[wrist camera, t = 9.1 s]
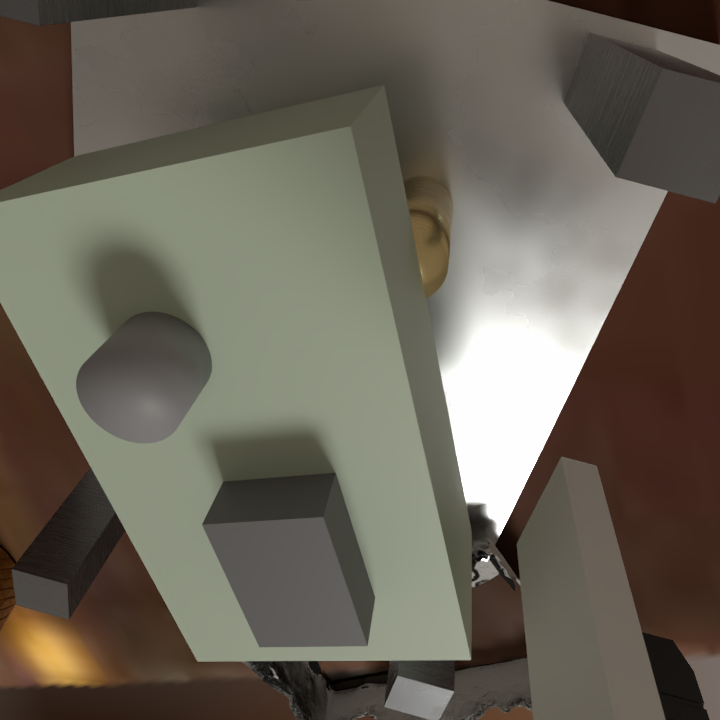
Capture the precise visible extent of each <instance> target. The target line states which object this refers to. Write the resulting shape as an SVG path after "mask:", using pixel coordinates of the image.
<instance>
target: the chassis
mask: <svg viewBox="0 0 720 720" xmlns="http://www.w3.org/2000/svg"><path fill="white" fill-rule="evenodd" d="M0 16H4V17H8V18H12V19H16V20H19V21H23V22H27V23H31V24H35V25H38V26H42V25H50V24H59V23H67V22H71V47H72V85H73V123H74V157H75V156H77V155H81V154H86V153H90V152H95V151H99V150H103V149H108V148H112V147H116V146H121V145H125V144H129V143H134V142H138V141H142V140H147V139H151V138H155V137H160V136H164V135H168V134H173V133H177V132H181V131H186V130H190V129H195V128H199V127H203V126H208V125H212V124H216V123H221V122H225V121H229V120H234V119H238V118H242V117H247V116H251V115H255V114H260V113H264V112H268V111H273V110H277V109H281V108H286V107H290V106H295V105H299V104H303V103H308V102H312V101H316V100H321V99H325V98H329V97H334V96H338V95H342V94H347V93H351V92H355V91H360V90H364V89H368V88H373V87H377V86H381V85H384V86H385V91H386V96H387V102H388V107H389V112H390V117H391V122H392V127H393V132H394V137H395V142H396V148H397V153H398V158H399V163H400V168H401V173H402V178H403V183H404V188H405V193H406V199H407V204H408V209H409V214H410V219H411V224H412V229H413V234H414V239H415V245H416V250H417V255H418V260H419V265H420V270H421V275H422V280H423V285H424V290H425V296H426V301H427V306H428V311H429V316H430V321H431V326H432V331H433V336H434V342H435V347H436V352H437V357H438V362H439V367H440V372H441V377H442V382H443V388H444V393H445V398H446V403H447V408H448V413H449V418H450V423H451V428H452V433H453V439H454V444H455V449H456V454H457V459H458V464H459V469H460V474H461V479H462V485H463V490H464V495H465V500H466V505H467V510H468V515H469V520H470V525H471V530H472V541H474V540H477V539H480V538H484V537H486V538H489V539H490V540H491V541H492V542H493V544H494V545H495V544H496V542H497V540H498V538H499V536H500V534H501V532H502V530H503V528H504V526H505V524H506V522H507V520H508V518H509V516H510V514H511V512H512V509H513V507H514V505H515V503H516V501H517V499H518V497H519V495H520V493H521V491H522V489H523V487H524V485H525V483H526V481H527V479H528V477H529V475H530V473H531V471H532V468H533V466H534V464H535V462H536V460H537V458H538V456H539V454H540V452H541V450H542V448H543V446H544V444H545V442H546V440H547V438H548V436H549V434H550V432H551V430H552V427H553V425H554V423H555V421H556V419H557V417H558V415H559V413H560V411H561V409H562V407H563V405H564V403H565V401H566V399H567V397H568V395H569V393H570V391H571V389H572V386H573V384H574V382H575V380H576V378H577V376H578V374H579V372H580V370H581V368H582V366H583V364H584V362H585V360H586V358H587V356H588V354H589V352H590V350H591V348H592V345H593V343H594V341H595V339H596V337H597V335H598V333H599V331H600V329H601V327H602V325H603V323H604V321H605V319H606V317H607V315H608V313H609V311H610V309H611V307H612V304H613V302H614V300H615V298H616V296H617V294H618V292H619V290H620V288H621V286H622V284H623V282H624V280H625V278H626V276H627V274H628V272H629V270H630V268H631V266H632V263H633V261H634V259H635V257H636V255H637V253H638V251H639V249H640V247H641V245H642V243H643V241H644V239H645V237H646V235H647V233H648V231H649V229H650V227H651V225H652V222H653V220H654V218H655V216H656V214H657V212H658V210H659V208H660V206H661V204H662V202H663V200H664V198H665V196H666V194H667V192H668V191H670V192H674V193H678V194H681V195H685V196H689V197H693V198H697V199H700V200H704V201H708V202H712V203H716V201H717V199H718V197H719V195H720V45H719V44H716V43H712V42H708V41H704V40H700V39H696V38H692V37H689V36H685V35H681V34H677V33H673V32H669V31H665V30H662V29H658V28H654V27H650V26H646V25H642V24H638V23H635V22H631V21H627V20H623V19H619V18H615V17H611V16H607V15H604V14H600V13H596V12H592V11H588V10H584V9H580V8H577V7H573V6H569V5H565V4H561V3H557V2H553V1H550V0H0ZM124 531H125V529H124V527H123V525H122V523H121V521H120V519H119V518H118V516H117V514H116V512H115V510H114V508H113V507H112V505H111V503H110V501H109V499H108V498H107V496H106V494H105V492H104V490H103V488H102V487H101V485H100V483H99V481H98V479H97V478H96V476H95V474H94V472H93V470H92V468H90V469H89V470H88V472H87V473H86V474H85V475H84V477H83V478H82V479H81V481H80V482H79V483H78V484H77V486H76V487H75V488H74V490H73V491H72V492H71V493H70V495H69V496H68V497H67V499H66V500H65V501H64V502H63V504H62V505H61V506H60V508H59V509H58V510H57V511H56V513H55V514H54V515H53V517H52V518H51V519H50V520H49V522H48V523H47V524H46V526H45V527H44V528H43V529H42V531H41V532H40V533H39V535H38V536H37V537H36V538H35V540H34V541H33V542H32V544H31V545H30V546H29V547H28V549H27V550H26V551H25V553H24V554H23V555H22V556H21V558H20V559H19V560H18V562H17V563H16V564H15V565H14V567H13V568H12V576H13V584H14V592H15V601H16V605H18V606H22V607H26V608H29V609H33V610H36V611H40V612H44V613H47V614H51V615H54V616H58V617H62V618H65V619H70V617H71V616H72V614H73V613H74V611H75V609H76V608H77V606H78V605H79V603H80V601H81V600H82V598H83V597H84V595H85V593H86V592H87V590H88V589H89V587H90V586H91V584H92V582H93V581H94V579H95V578H96V576H97V574H98V573H99V571H100V570H101V568H102V566H103V565H104V563H105V562H106V560H107V558H108V557H109V555H110V554H111V552H112V550H113V549H114V547H115V546H116V544H117V542H118V541H119V539H120V538H121V536H122V535H123V533H124ZM488 559H489V557H488ZM482 561H486V562H487V561H488V560H487V559H484V558H483V559H482ZM454 683H455V660H405V661H390V662H389V670H388V678H387V686H386V694H385V702H384V707H386V708H389V709H393V710H397V711H400V712H404V713H407V714H411V715H415V716H418V717H422V718H426V719H429V720H439V719H440V717H441V715H442V714H443V712H444V710H445V708H446V706H447V704H448V702H449V700H450V699H451V697H452V695H453V693H454Z"/></svg>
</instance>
